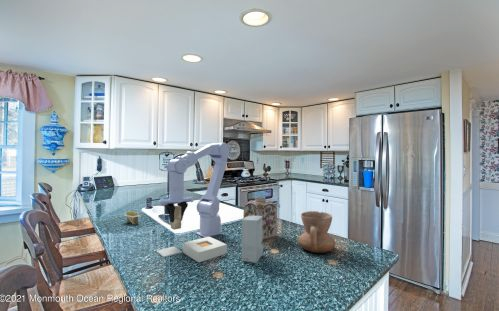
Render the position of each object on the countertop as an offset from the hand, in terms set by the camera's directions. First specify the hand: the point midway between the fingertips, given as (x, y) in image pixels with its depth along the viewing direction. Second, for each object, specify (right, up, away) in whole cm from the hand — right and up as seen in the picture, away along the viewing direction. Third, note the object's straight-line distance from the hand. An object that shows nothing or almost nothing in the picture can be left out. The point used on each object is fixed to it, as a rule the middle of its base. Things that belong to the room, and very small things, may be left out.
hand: (176, 221), depth 102 cm
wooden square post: (0, -3, 0) cm, 3 cm away
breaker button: (+13, -9, -8) cm, 18 cm away
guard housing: (+13, -10, -8) cm, 18 cm away
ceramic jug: (+57, -11, -3) cm, 58 cm away
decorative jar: (+35, -11, +14) cm, 39 cm away
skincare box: (+31, -11, -11) cm, 35 cm away
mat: (0, -10, -8) cm, 13 cm away
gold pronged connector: (-33, -10, +31) cm, 47 cm away
